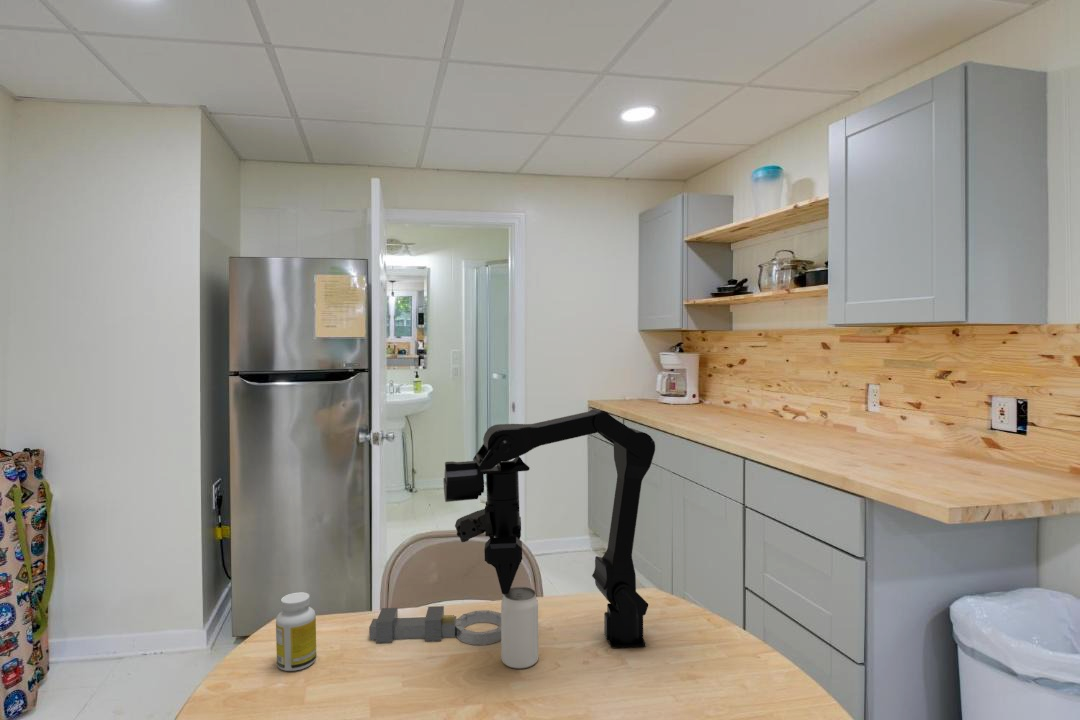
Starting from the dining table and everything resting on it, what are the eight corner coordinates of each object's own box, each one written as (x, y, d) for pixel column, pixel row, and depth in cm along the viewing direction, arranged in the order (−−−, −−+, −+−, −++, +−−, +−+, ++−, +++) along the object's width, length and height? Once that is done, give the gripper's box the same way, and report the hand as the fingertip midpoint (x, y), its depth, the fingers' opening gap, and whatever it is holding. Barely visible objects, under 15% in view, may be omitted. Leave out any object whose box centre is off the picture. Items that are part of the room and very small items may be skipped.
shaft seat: (507, 619, 123) (507, 599, 123) (508, 643, 113) (507, 622, 113) (376, 623, 121) (376, 604, 121) (365, 649, 111) (365, 627, 111)
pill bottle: (324, 658, 108) (323, 593, 108) (296, 676, 102) (294, 608, 102) (297, 650, 111) (296, 587, 111) (268, 667, 105) (267, 601, 105)
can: (539, 651, 110) (539, 586, 110) (536, 671, 104) (535, 601, 103) (504, 650, 111) (504, 585, 111) (498, 669, 104) (498, 600, 104)
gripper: (461, 485, 117) (464, 565, 118) (452, 513, 99) (455, 608, 99) (519, 483, 118) (522, 563, 118) (520, 510, 99) (523, 605, 100)
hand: (505, 583), depth 109 cm, fingers open, 9 cm apart
